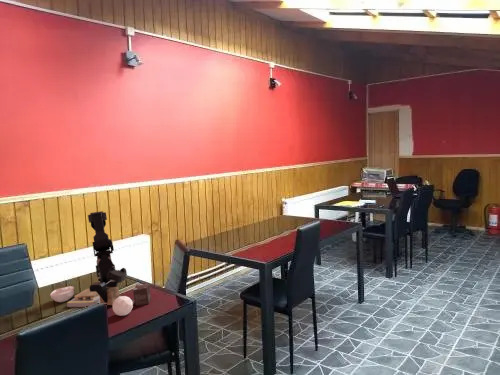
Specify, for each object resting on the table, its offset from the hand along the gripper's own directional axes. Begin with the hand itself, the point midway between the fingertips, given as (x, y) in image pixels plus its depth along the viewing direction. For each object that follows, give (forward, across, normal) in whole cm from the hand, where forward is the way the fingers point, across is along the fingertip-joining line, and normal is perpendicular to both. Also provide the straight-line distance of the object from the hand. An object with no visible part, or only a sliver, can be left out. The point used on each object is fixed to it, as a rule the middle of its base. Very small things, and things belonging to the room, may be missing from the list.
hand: (110, 299), depth 183 cm
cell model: (+3, +6, +29) cm, 30 cm away
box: (+3, +2, -15) cm, 15 cm away
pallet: (0, +6, +14) cm, 15 cm away
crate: (+1, 0, 0) cm, 1 cm away
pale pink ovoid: (+3, -9, -13) cm, 16 cm away
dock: (+2, +6, +14) cm, 15 cm away
